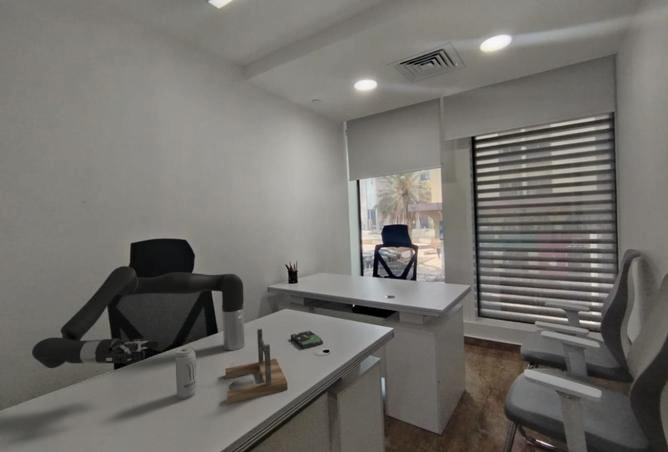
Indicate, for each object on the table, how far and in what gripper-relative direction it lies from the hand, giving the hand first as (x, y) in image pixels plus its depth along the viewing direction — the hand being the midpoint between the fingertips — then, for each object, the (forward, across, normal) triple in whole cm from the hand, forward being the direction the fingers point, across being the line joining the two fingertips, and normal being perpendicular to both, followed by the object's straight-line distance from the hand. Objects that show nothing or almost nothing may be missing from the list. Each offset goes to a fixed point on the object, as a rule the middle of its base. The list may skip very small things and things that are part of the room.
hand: (151, 349), depth 103 cm
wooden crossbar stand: (+32, -7, -16) cm, 36 cm away
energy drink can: (+11, -1, -16) cm, 20 cm away
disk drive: (+48, -42, -16) cm, 65 cm away
